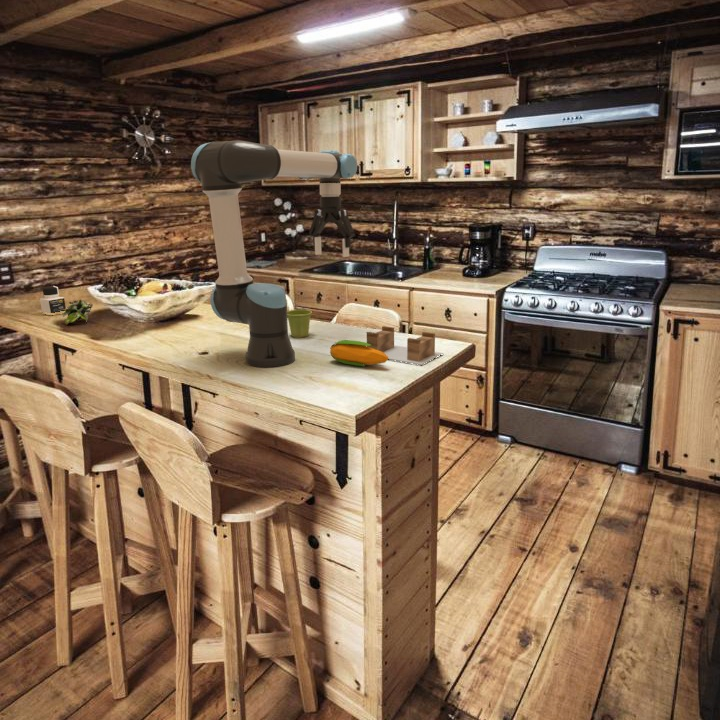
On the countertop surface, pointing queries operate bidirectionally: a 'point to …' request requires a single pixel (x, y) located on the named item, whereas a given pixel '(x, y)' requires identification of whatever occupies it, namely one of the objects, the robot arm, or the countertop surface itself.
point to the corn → (356, 353)
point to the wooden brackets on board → (415, 347)
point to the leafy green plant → (77, 311)
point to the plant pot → (299, 322)
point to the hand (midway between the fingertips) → (331, 255)
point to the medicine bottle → (52, 300)
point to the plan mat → (401, 355)
